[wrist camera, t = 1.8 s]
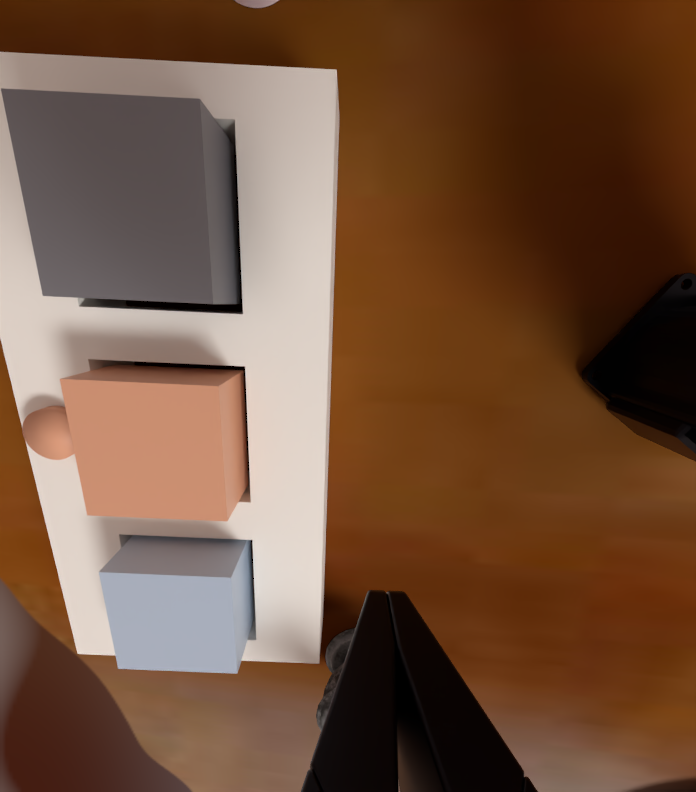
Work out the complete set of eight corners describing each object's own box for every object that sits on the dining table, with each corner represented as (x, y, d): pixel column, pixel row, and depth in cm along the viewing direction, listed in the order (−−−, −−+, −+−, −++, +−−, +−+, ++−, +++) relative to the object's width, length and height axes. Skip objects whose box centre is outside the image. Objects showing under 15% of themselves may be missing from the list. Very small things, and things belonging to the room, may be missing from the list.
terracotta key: (114, 364, 15) (59, 379, 12) (243, 370, 15) (218, 386, 12) (132, 478, 17) (87, 515, 14) (248, 484, 17) (227, 521, 14)
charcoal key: (80, 137, 13) (0, 88, 10) (233, 144, 13) (199, 98, 10) (104, 297, 14) (42, 295, 11) (240, 304, 14) (213, 304, 12)
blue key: (139, 528, 18) (98, 572, 15) (250, 532, 18) (230, 577, 15) (153, 614, 19) (118, 668, 16) (254, 618, 19) (237, 673, 16)
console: (15, 100, 14) (-94, 34, 11) (339, 117, 14) (335, 56, 11) (113, 607, 22) (69, 664, 18) (323, 616, 22) (318, 674, 18)
